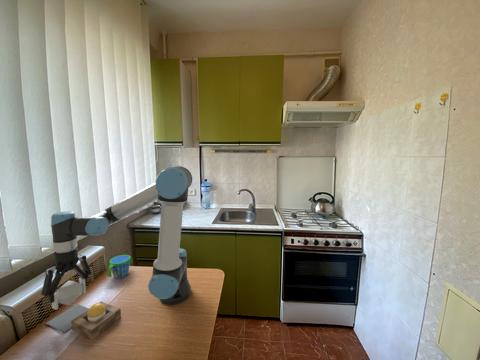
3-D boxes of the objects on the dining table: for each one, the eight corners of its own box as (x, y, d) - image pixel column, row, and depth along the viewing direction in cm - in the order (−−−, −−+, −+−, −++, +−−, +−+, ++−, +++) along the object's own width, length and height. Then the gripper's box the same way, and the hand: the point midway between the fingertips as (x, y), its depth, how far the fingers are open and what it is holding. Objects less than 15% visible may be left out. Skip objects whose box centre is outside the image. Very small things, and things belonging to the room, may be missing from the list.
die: (87, 300, 90) (86, 276, 94) (70, 303, 82) (70, 276, 86) (68, 307, 89) (67, 283, 93) (49, 311, 81) (49, 284, 85)
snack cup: (115, 285, 111) (114, 267, 110) (101, 280, 115) (100, 263, 114) (138, 270, 126) (138, 254, 125) (126, 267, 130) (125, 251, 129)
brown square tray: (120, 317, 89) (120, 308, 89) (92, 339, 78) (91, 330, 78) (101, 309, 94) (100, 301, 93) (71, 330, 82) (71, 320, 82)
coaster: (95, 312, 92) (95, 310, 92) (64, 333, 81) (64, 331, 81) (77, 305, 96) (77, 303, 96) (46, 324, 85) (46, 323, 85)
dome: (109, 318, 87) (108, 301, 87) (94, 329, 82) (93, 311, 81) (99, 314, 90) (98, 298, 89) (84, 324, 84) (83, 307, 83)
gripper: (88, 238, 97) (91, 283, 99) (24, 259, 76) (30, 316, 79) (99, 240, 94) (102, 286, 97) (36, 263, 74) (42, 321, 76)
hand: (69, 299), depth 88 cm, fingers closed on die, 10 cm apart
